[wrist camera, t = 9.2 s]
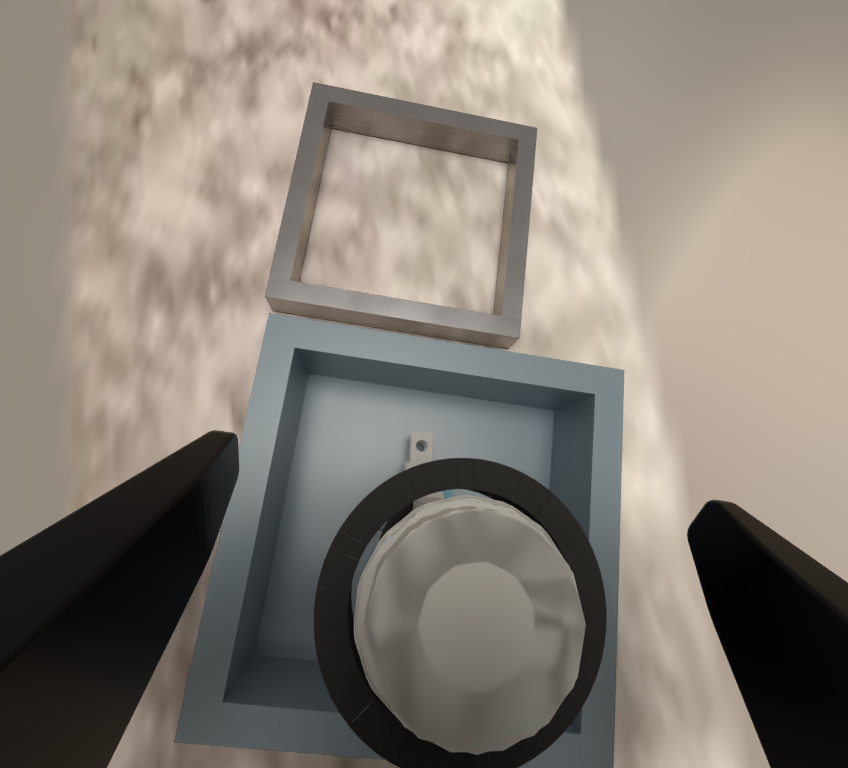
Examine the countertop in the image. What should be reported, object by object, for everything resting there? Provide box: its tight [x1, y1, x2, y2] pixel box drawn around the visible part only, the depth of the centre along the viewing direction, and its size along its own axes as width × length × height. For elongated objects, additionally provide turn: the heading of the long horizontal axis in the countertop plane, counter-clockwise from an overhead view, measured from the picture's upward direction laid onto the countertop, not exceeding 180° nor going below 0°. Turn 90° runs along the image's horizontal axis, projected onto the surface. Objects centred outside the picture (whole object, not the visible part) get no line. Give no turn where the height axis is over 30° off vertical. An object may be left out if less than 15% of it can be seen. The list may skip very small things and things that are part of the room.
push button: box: [314, 432, 607, 768], centre depth 12 cm, size 7×5×10 cm
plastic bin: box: [174, 313, 624, 768], centre depth 16 cm, size 12×12×4 cm
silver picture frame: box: [265, 82, 537, 349], centre depth 20 cm, size 10×10×2 cm
